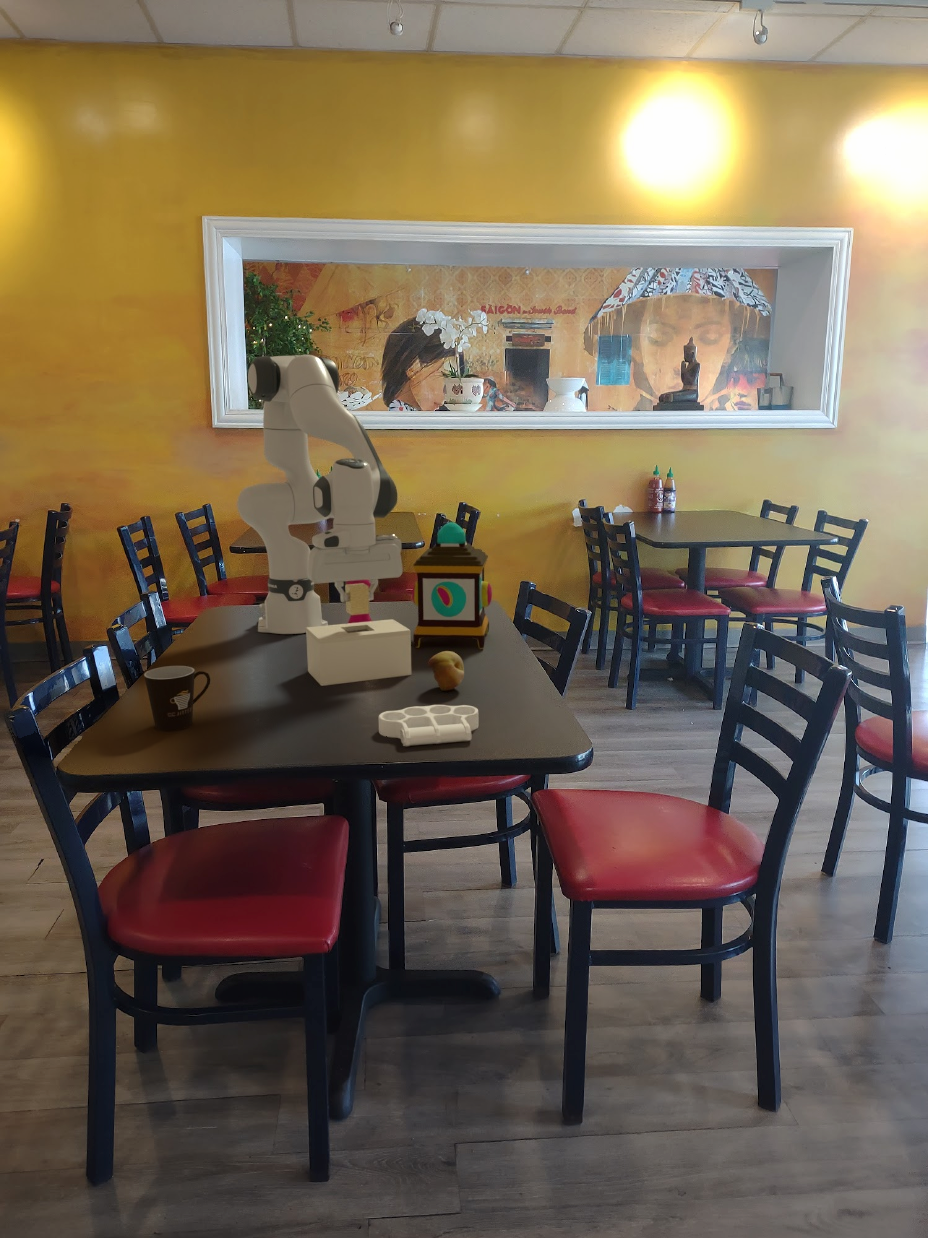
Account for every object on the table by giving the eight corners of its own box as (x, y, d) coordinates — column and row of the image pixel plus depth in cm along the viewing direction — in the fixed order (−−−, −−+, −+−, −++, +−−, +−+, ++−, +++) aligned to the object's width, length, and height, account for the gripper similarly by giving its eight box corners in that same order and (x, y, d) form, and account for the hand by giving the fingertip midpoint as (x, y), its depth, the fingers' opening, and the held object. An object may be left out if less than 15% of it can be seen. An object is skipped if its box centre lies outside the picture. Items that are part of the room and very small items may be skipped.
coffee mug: (150, 736, 151) (145, 681, 148) (147, 721, 158) (142, 669, 156) (218, 726, 155) (214, 673, 153) (212, 712, 163) (208, 661, 161)
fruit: (440, 697, 171) (440, 658, 170) (420, 687, 178) (419, 650, 176) (472, 691, 175) (472, 653, 173) (451, 681, 182) (451, 645, 180)
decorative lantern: (494, 632, 226) (494, 518, 219) (489, 651, 207) (489, 526, 200) (419, 631, 228) (417, 517, 221) (407, 649, 209) (404, 526, 202)
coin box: (308, 671, 190) (306, 627, 188) (393, 661, 198) (392, 619, 196) (321, 685, 180) (319, 639, 177) (411, 674, 187) (410, 630, 185)
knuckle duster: (385, 753, 143) (375, 724, 157) (490, 743, 147) (470, 716, 161) (385, 734, 143) (374, 706, 157) (490, 725, 146) (470, 699, 160)
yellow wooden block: (346, 611, 187) (345, 584, 185) (364, 610, 188) (363, 583, 187) (351, 615, 183) (350, 587, 182) (369, 613, 185) (368, 585, 183)
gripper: (396, 532, 189) (398, 594, 192) (304, 537, 181) (307, 602, 184) (405, 535, 183) (407, 599, 186) (311, 540, 176) (314, 607, 178)
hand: (357, 600), depth 185 cm, fingers closed on yellow wooden block, 4 cm apart
